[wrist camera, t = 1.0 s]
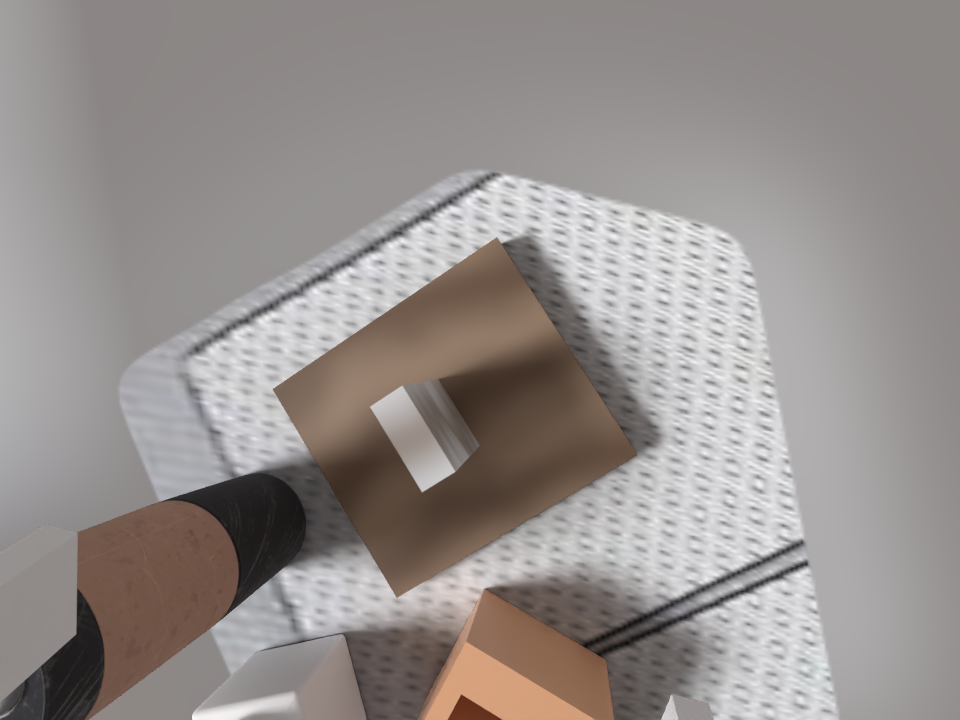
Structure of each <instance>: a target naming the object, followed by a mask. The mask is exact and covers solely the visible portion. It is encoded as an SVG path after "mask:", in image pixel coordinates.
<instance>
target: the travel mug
mask: <svg viewBox="0 0 960 720" xmlns="http://www.w3.org/2000/svg"><path fill="white" fill-rule="evenodd" d="M305 529H306V520H305V514H304V510H303V507H302V504H301V502H300V500H299V498H298V497H297V495H296V494H295V492H294V491H293V490H292V489H291V488H290V487H289V486H288V485H287V484H286V483H284V482H283V481H281V480H279V479H278V478H275V477H273V476H270V475H265V474H249V475H244V476H241V477H238V478H234V479H231V480H227V481H224V482H221V483H218V484H215V485H212V486H208V487H205V488H202V489H199V490H196V491H193V492H189V493H186V494H183V495H180V496H177V497H173V498H170V499H167V500H164V501H161V502H158V503H155V504H152V505H149V506H146V507H144V508H141V509H139V510H136V511H133V512H130V513H128V514H125V515H122V516H120V517H117V518H114V519H112V520H109V521H106V522H104V523H101V524H98V525H96V526H93V527H90V528H88V529H85V530H82V531H80V532H77V533H78V552H77V625H76V635H75V636H74V637H73V638H71V639H70V640H69V641H68V642H67V643H66V644H65V645H64V646H63V647H61V648H60V649H59V650H58V651H57V652H56V653H55V654H54V655H53V656H51V657H50V658H49V659H48V660H47V661H46V662H45V663H44V664H43V665H41V666H40V667H39V668H38V669H37V670H36V671H35V672H34V673H32V674H31V675H30V676H29V677H28V678H27V679H26V680H25V681H24V682H22V683H21V684H20V685H19V686H18V687H17V688H16V689H15V690H14V691H12V692H11V693H10V694H9V695H8V696H7V697H6V698H5V699H4V700H2V701H1V702H0V720H89V719H90V718H91V717H92V716H94V715H95V714H96V713H98V712H99V711H101V710H102V709H103V708H105V707H106V706H107V705H109V704H110V703H111V702H113V701H114V700H115V699H117V698H118V697H119V696H121V695H122V694H123V693H125V692H126V691H127V690H129V689H130V688H131V687H133V686H134V685H135V684H137V683H138V682H139V681H141V680H142V679H143V678H145V677H146V676H147V675H149V674H150V673H151V672H153V671H154V670H155V669H157V668H158V667H159V666H161V665H162V664H163V663H165V662H166V661H167V660H169V659H170V658H171V657H172V656H174V655H175V654H177V653H178V652H179V651H181V650H182V649H183V648H185V647H186V646H187V645H189V644H190V643H191V642H193V641H194V640H195V639H197V638H198V637H199V636H201V635H202V634H203V633H205V632H206V631H207V630H209V629H210V628H211V627H213V626H214V625H215V624H216V623H218V622H219V621H220V620H221V619H223V618H224V617H225V616H226V615H227V614H229V613H230V612H231V611H232V610H233V609H235V608H236V607H237V606H238V605H239V604H241V603H242V602H243V601H244V600H245V599H247V598H248V597H249V596H250V595H251V594H253V593H254V592H255V591H256V590H257V589H259V588H260V587H261V586H262V585H263V584H265V583H266V582H267V581H268V580H269V579H271V578H272V577H273V576H274V575H275V574H277V573H278V572H279V571H280V570H281V569H282V568H284V567H285V566H286V565H287V564H288V563H289V562H290V561H291V560H292V559H293V558H294V557H295V555H296V554H297V553H298V551H299V549H300V547H301V545H302V542H303V540H304V536H305Z"/></svg>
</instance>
